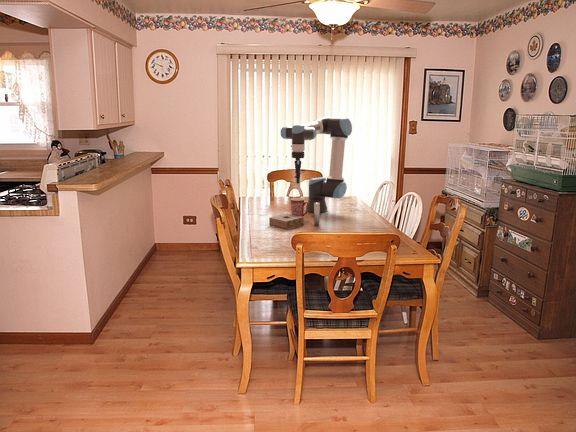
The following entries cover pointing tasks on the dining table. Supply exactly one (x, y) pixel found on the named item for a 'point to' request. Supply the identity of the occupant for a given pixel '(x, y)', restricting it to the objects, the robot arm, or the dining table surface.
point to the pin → (316, 213)
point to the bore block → (286, 221)
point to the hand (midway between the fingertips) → (297, 186)
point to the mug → (298, 206)
